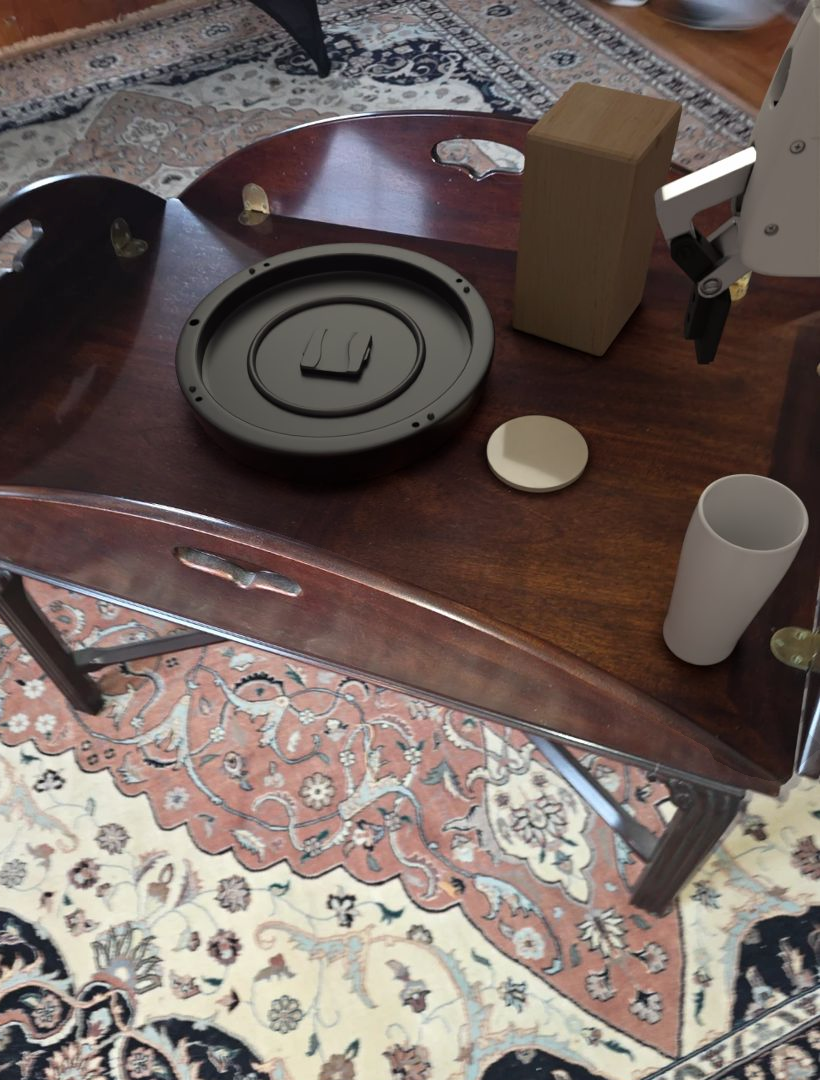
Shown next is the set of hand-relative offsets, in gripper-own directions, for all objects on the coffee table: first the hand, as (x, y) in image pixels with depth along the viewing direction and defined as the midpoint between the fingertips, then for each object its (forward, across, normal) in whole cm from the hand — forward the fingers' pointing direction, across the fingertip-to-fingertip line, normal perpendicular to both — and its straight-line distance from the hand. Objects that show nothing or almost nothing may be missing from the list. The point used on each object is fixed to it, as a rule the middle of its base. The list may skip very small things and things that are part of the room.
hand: (798, 347), depth 45 cm
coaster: (+27, -11, +18) cm, 35 cm away
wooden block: (+28, -7, +38) cm, 48 cm away
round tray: (+28, -30, +28) cm, 49 cm away
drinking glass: (+28, +1, 0) cm, 28 cm away
